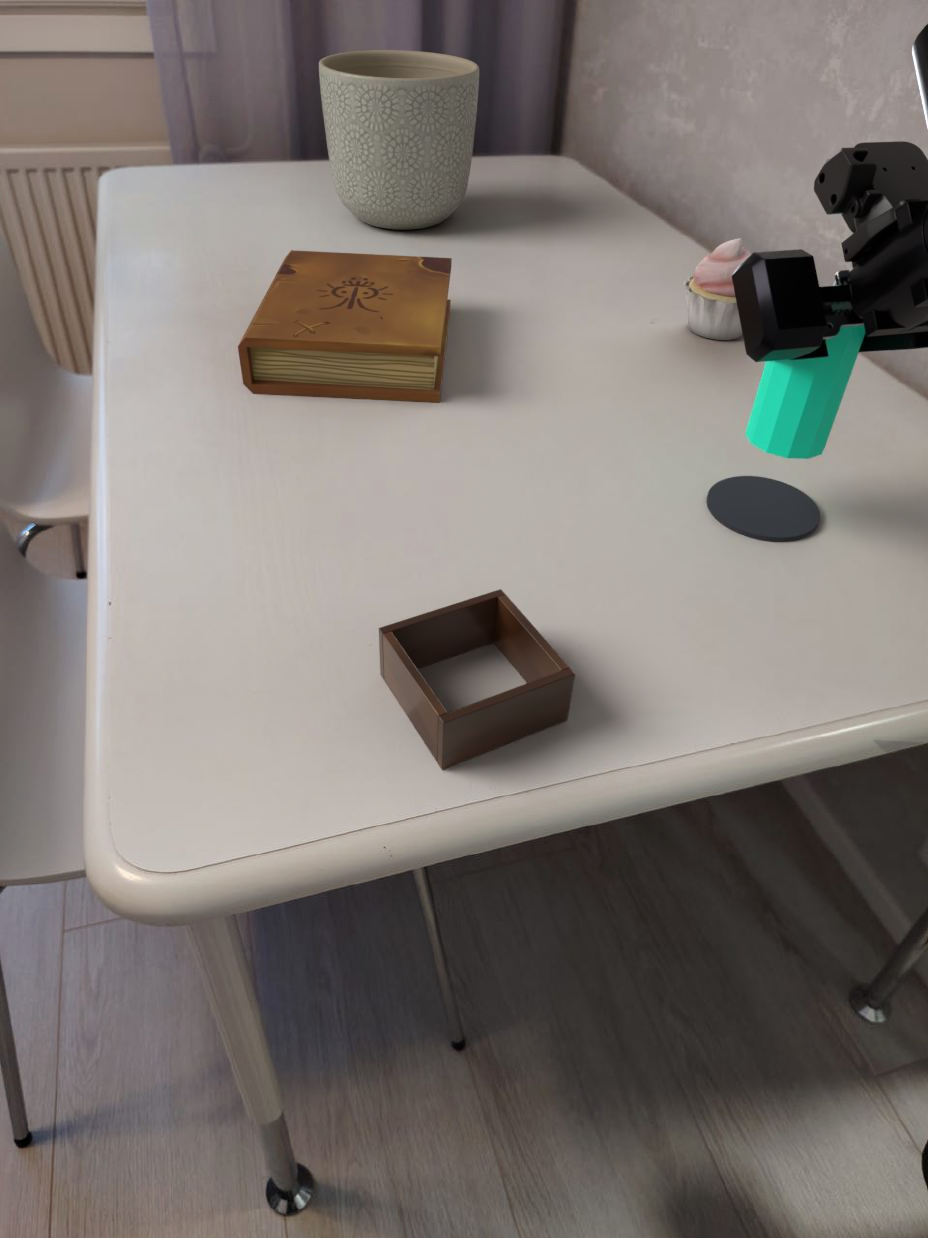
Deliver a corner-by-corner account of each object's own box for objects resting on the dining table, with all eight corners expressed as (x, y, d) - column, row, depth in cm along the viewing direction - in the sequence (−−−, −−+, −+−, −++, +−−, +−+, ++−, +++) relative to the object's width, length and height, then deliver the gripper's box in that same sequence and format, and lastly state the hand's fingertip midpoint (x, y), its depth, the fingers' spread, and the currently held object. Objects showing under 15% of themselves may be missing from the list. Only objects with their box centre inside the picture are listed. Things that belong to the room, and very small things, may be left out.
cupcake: (760, 351, 94) (786, 257, 87) (674, 341, 95) (693, 247, 89) (756, 318, 101) (780, 229, 94) (675, 309, 102) (693, 220, 96)
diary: (289, 301, 100) (284, 249, 96) (450, 309, 100) (451, 257, 96) (244, 393, 83) (236, 334, 79) (439, 402, 83) (440, 344, 79)
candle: (796, 418, 69) (846, 264, 61) (841, 454, 65) (901, 293, 57) (730, 425, 68) (773, 268, 60) (772, 463, 63) (824, 298, 56)
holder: (567, 720, 52) (575, 673, 50) (441, 770, 49) (443, 723, 47) (497, 634, 58) (501, 588, 55) (380, 674, 55) (378, 627, 52)
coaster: (843, 524, 69) (844, 520, 69) (759, 553, 66) (760, 549, 66) (764, 470, 75) (765, 466, 75) (683, 494, 72) (684, 490, 72)
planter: (298, 221, 122) (284, 63, 109) (384, 188, 135) (381, 44, 123) (421, 252, 114) (421, 85, 101) (499, 214, 128) (508, 63, 115)
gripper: (1073, 97, 50) (888, 236, 65) (791, 102, 46) (664, 250, 61) (1112, 281, 50) (916, 379, 65) (831, 303, 45) (692, 402, 61)
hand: (800, 349), depth 63 cm, fingers closed on candle, 5 cm apart
